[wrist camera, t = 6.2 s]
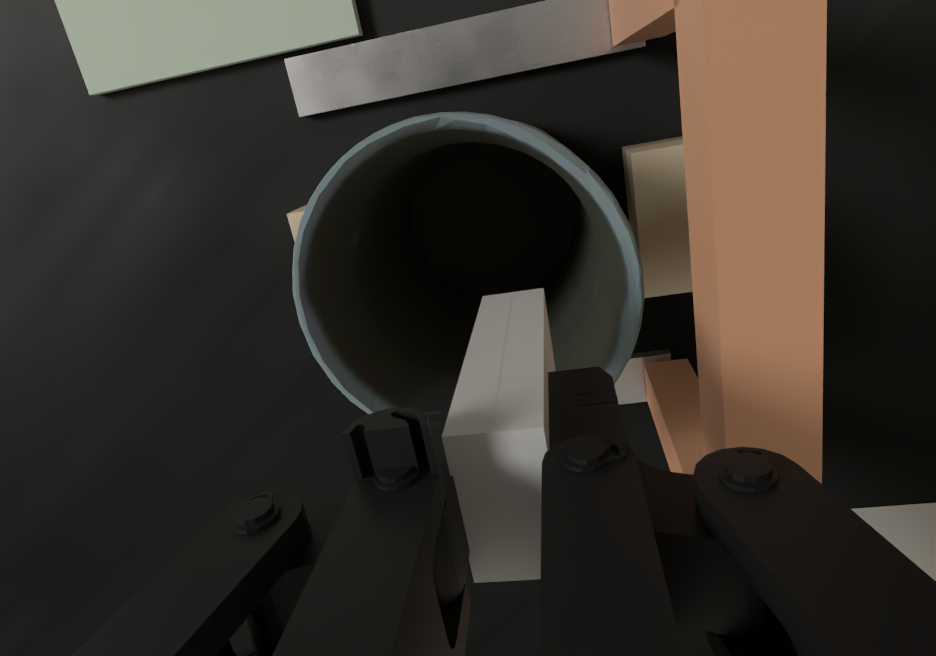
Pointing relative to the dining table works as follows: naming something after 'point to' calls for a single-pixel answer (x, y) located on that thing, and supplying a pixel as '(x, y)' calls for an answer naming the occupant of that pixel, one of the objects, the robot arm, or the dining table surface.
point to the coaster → (193, 35)
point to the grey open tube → (459, 254)
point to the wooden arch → (746, 225)
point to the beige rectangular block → (647, 214)
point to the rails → (465, 76)
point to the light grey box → (907, 530)
